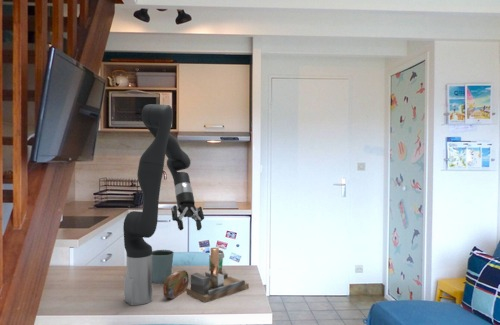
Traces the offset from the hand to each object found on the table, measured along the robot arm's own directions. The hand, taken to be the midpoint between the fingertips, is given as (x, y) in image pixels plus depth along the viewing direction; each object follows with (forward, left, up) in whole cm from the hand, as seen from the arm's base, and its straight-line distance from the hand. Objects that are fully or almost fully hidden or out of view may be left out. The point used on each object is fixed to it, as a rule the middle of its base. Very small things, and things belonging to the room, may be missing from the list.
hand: (190, 229), depth 161 cm
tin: (-11, -6, -23) cm, 26 cm away
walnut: (-2, -14, -21) cm, 25 cm away
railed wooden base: (+4, -14, -23) cm, 27 cm away
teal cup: (-6, +13, -23) cm, 27 cm away
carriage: (+2, -14, -21) cm, 25 cm away
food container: (+17, +3, -23) cm, 29 cm away
